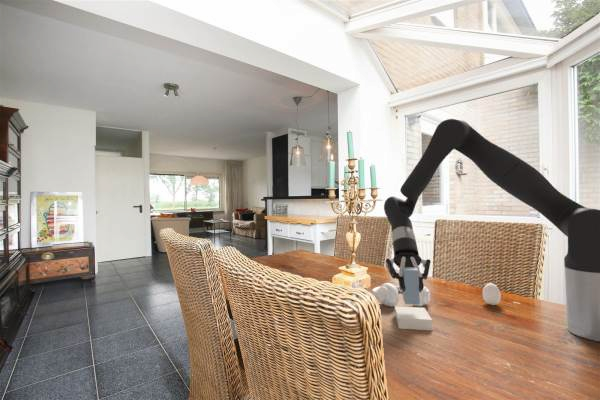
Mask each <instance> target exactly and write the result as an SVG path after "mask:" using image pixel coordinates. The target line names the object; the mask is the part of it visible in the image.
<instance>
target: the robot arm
mask: <svg viewBox="0 0 600 400" xmlns="http://www.w3.org/2000/svg"><path fill="white" fill-rule="evenodd" d="M432 134H433V135H432V137H431V139H430V141H429V142H428V145H427V147H426V149H425V151H424V153H423V154H422V155H421V158H420V159H419V161H418V162H417V164H416V165H415V166H414V168H413V170H412V171H411V172H410V174H409V175H408V176H407V178H406V180H405V181H404V183H403V184H402V185H401V187H400V191H399V192H400V194H402V196H404V197H405V198H406V199H405V200H404V199H402V198H399V197H396V196H389V197H388V198H387V199H386V200H385V201H384V204H383V210H384V214H385V216H386V219H387V220H388V223H389V224H390V226H391V227H390V228H391V240H392V241H391V244H392V250H393V258H391V259H390V258H386V259H385V266H386V268H387V271H388V272H389V274H390V277H391V278H392V279H396V280H398V285H399V287H400V290H402V291H403V292H405V284H404V277H403V268H402V267H414V268H417V269H418V270H419V292H421V291H422V290H423V288H424V281H425V280H427V279H428V277H429V276H428V275H429V271H430V266H431V259H428V258H427V259H422V257H420V254H419V249H418V245H417V238H416V236H415V232H414V229H413V222H412V221H411V219H410V217H412V215H413V213H414V210H415V208H416V204H417V202H418V200H419V197H420V196H421V195H422V193H423V192H424V191H425V189H426V188H427V186H428V185H429V184H430V182H431V180H432V179H433V177H434V175H435V174H436V172H437V170H438V168H439V167H440V166H441V164H442V163H443V161H444V160H445V159H446V158H447V156H449V154H450V153H452V151H454V150H455V151H457V152H459V153H460V154H462V155H463V156H465V157H466V158H467V159H469V160H471V161H472V162H473V163H474V164H475V166H477V168H479V170H480V171H481V172H482V174H483V175H485V176H486V177H487V178H488V179H489V180H490V181H491V182H493V184H495V185H497V186H498V187H500V188H501V189H502V190H503V191H504V192H507V193H508V194H510V195H511V196H513V197H514V198H515V199H517V200H518V201H520V202H522V203H524V204H525V205H527V206H529V207H530V208H532V209H534V210H535V211H537V212H538V213H540V214H541V215H542V216H543V217H544V218H546V219H547V220H548V221H549V222H550V223H551V224H553V226H555V227H556V228H557V229H558V230H559V231H560V232H561V233H562V234H563V235H565V236H566V237H567V253H566V255H565V256H564V259H563V261H564V265H563V266H564V280H565V283H564V284H565V286H564V287H565V301H566V302H565V304H566V305H565V308H566V329H567V331H568V332H570V333H571V334H573V335H576V336H578V337H580V338H584V339H587V340H589V341H590V340H591V341H596V342H600V209H598V208H597V209H596V208H589V207H585V206H584V205H582V204H580V203H578V202H577V201H574V200H573V199H571V198H569V197H568V196H566V195H564V194H563V193H561V192H560V190H558V189H557V188H556V187H554V185H553V184H552V183H550V181H549V180H548V179H547V178H546V177H545V176H544V175H543V174H542V173H541V172H540V171H538V170H537V168H535V167H533V166H532V165H531V164H530V163H528V162H526V161H524V160H523V159H521V158H520V157H519V156H517V155H515V154H513V153H512V152H510V151H508V150H506V149H505V148H502V147H501V146H498V145H496V144H495V143H493V142H491V141H490V140H488V139H487V138H485V137H484V136H483V135H482V134H480V132H478V131H477V130H476V129H474V128H473V127H472V126H471V125H470V124H469V123H468V122H466V121H465V120H464V119H461V118H457V117H456V118H455V117H454V118H447V119H445V120H443V121H441V122H440V123H439V124H438V125H436V128H435V130H434V132H433V133H432ZM394 264H395V266H397V267H398V268H399V271H398V272H397V270H396V269H395V267H394ZM420 265H422V267H423V268H424V270H423V273H422V272H421V271H420ZM423 280H424V281H423ZM403 292H402V293H403Z"/></svg>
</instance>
